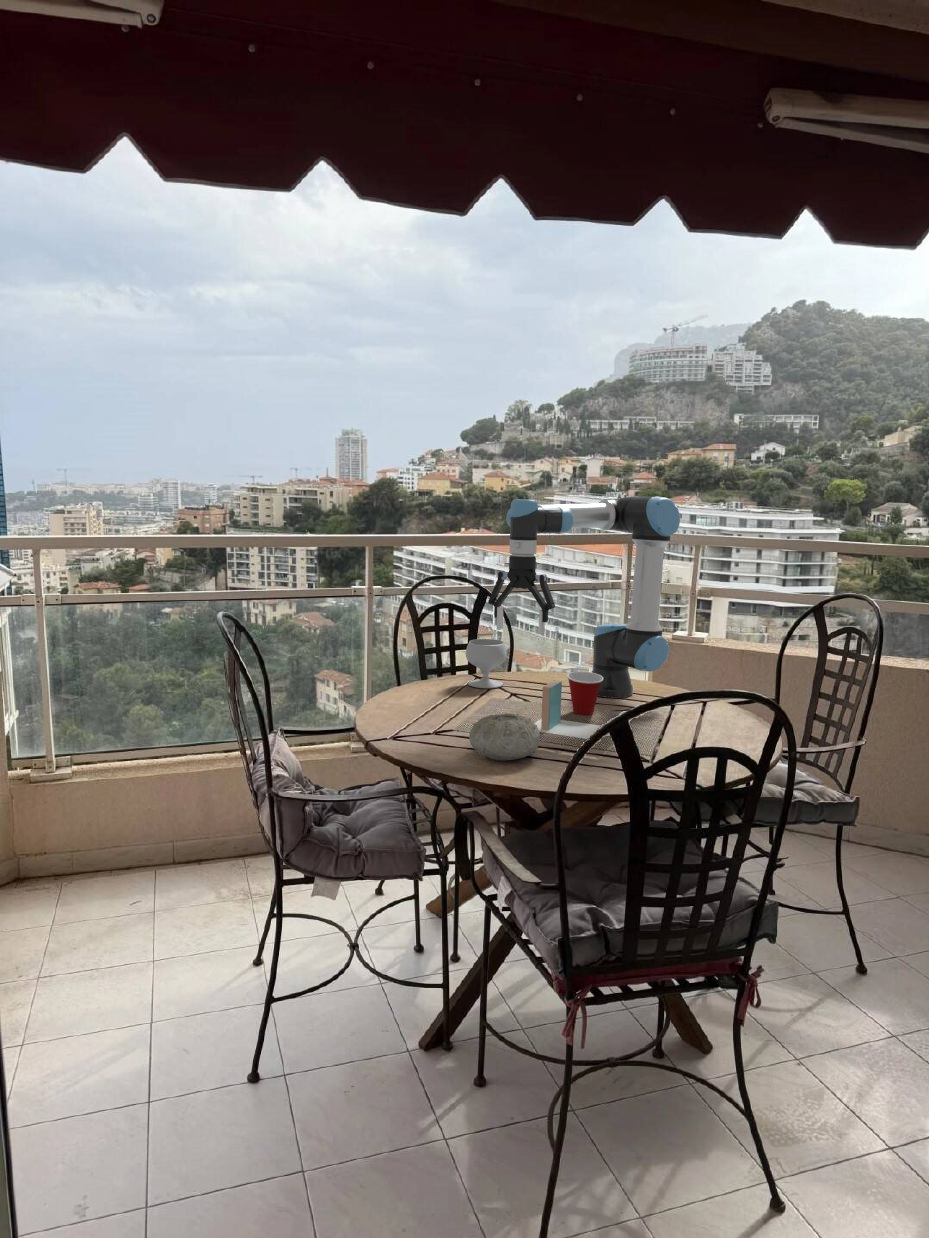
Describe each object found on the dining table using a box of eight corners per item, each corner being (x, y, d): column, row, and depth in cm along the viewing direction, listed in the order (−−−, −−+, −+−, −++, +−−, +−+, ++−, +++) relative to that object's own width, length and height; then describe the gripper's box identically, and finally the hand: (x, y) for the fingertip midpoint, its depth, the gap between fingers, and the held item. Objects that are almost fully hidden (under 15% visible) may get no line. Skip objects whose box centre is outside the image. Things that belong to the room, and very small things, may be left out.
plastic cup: (576, 720, 237) (578, 680, 235) (558, 711, 247) (560, 672, 245) (608, 717, 241) (610, 678, 239) (590, 708, 251) (591, 670, 249)
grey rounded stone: (455, 757, 203) (455, 718, 201) (492, 739, 218) (493, 703, 216) (517, 771, 193) (518, 730, 192) (552, 752, 208) (553, 714, 206)
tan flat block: (541, 728, 226) (542, 686, 224) (552, 721, 234) (553, 680, 232) (549, 730, 225) (550, 687, 223) (560, 722, 233) (561, 681, 231)
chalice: (506, 690, 271) (507, 646, 269) (464, 689, 272) (465, 645, 269) (505, 680, 285) (506, 638, 283) (465, 679, 286) (466, 637, 283)
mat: (524, 731, 226) (525, 729, 225) (542, 719, 238) (542, 717, 238) (594, 742, 217) (594, 740, 217) (609, 728, 229) (609, 726, 229)
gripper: (477, 553, 229) (475, 629, 233) (559, 558, 219) (556, 637, 222) (488, 552, 236) (486, 625, 239) (568, 556, 226) (565, 633, 229)
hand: (520, 631), depth 231 cm, fingers open, 12 cm apart
